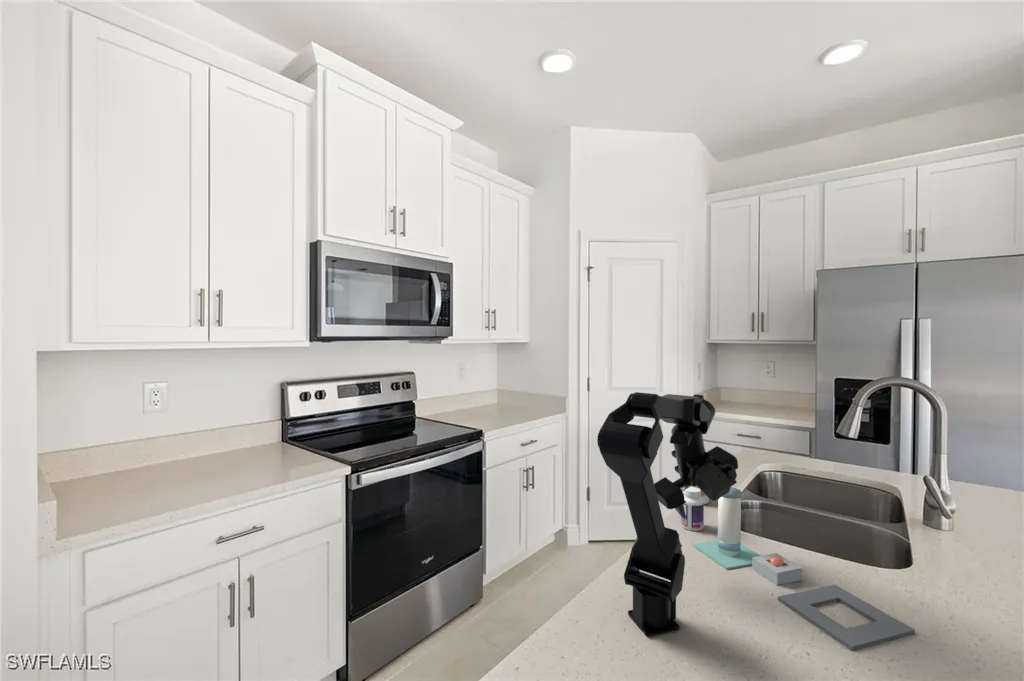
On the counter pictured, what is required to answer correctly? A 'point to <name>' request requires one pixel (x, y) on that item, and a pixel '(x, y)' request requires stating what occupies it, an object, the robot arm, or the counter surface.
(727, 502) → the cartridge
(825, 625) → the port plate
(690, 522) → the pill bottle
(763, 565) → the block
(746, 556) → the rubber mat
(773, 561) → the release button
